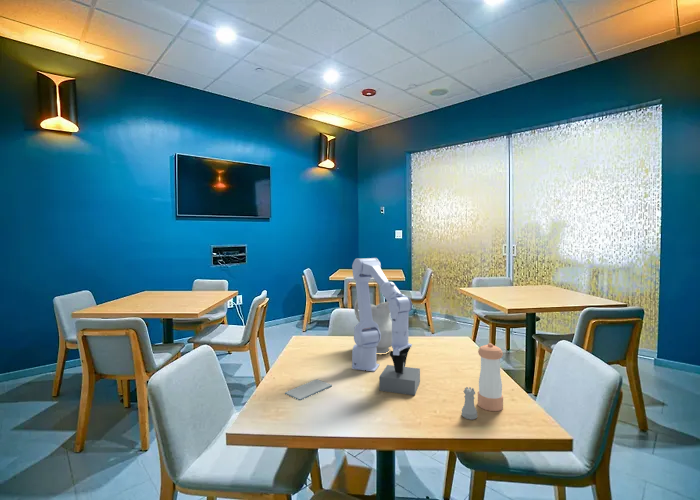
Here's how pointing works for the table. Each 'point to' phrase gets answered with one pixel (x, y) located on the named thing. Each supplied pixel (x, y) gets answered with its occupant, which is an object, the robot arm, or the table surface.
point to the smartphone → (308, 389)
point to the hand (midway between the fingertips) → (400, 369)
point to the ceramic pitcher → (380, 324)
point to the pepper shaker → (490, 378)
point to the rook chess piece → (469, 404)
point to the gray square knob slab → (399, 380)
